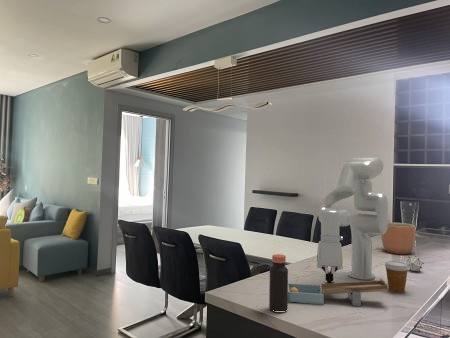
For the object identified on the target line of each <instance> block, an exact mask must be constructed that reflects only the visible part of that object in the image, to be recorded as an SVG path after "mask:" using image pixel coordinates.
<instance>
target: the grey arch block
mask: <svg viewBox="0 0 450 338" xmlns="http://www.w3.org/2000/svg"><path fill="white" fill-rule="evenodd" d="M361 294H362V292H361V291H352V293H347V299H348V300H349V303H350V305H352V306H351V307H361V306H362V305H361V304H362V303H361V300H362V295H361Z"/></svg>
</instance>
